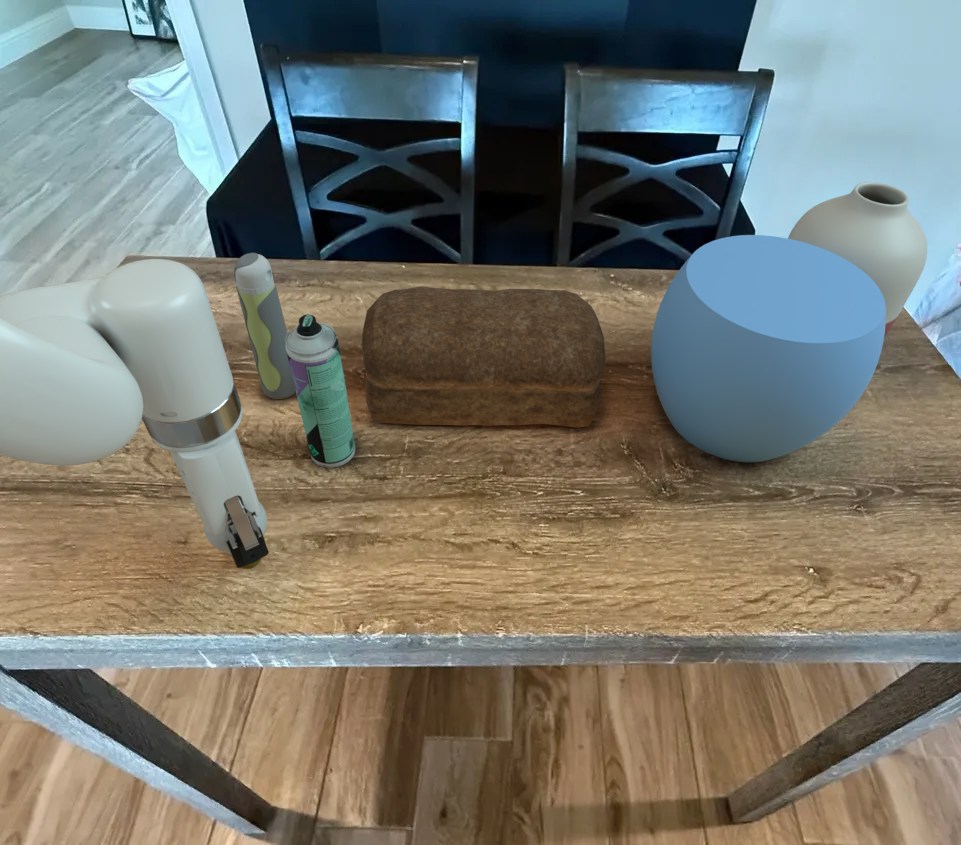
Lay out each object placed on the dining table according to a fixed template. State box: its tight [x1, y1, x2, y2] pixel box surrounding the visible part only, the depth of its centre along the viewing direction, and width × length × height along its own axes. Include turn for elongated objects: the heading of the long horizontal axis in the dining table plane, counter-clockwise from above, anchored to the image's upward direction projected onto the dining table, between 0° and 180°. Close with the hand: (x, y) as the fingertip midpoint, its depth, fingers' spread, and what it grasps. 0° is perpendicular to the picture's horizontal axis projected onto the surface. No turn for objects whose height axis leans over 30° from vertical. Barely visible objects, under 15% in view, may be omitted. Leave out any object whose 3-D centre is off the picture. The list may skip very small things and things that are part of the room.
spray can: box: [285, 314, 356, 469], centre depth 76 cm, size 6×6×20 cm
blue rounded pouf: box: [650, 234, 886, 463], centre depth 82 cm, size 25×25×20 cm
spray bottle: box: [233, 252, 296, 400], centre depth 84 cm, size 5×5×20 cm
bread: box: [361, 286, 606, 428], centre depth 87 cm, size 17×30×13 cm, turn 90°
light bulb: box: [203, 500, 268, 570], centre depth 68 cm, size 6×6×10 cm
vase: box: [787, 181, 928, 340], centre depth 92 cm, size 17×17×24 cm
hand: (240, 534), depth 68 cm, fingers closed on light bulb, 5 cm apart
